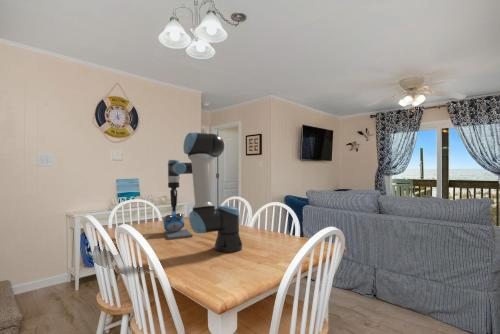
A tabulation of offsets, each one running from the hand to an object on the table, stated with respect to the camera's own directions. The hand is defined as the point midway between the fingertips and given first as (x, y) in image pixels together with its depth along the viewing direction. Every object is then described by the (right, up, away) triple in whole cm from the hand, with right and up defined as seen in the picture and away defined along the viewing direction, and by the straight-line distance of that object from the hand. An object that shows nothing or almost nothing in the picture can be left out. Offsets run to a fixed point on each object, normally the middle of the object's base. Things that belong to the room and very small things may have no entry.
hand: (173, 215), depth 193 cm
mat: (+6, -11, -12) cm, 18 cm away
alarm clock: (+1, -8, -2) cm, 9 cm away
